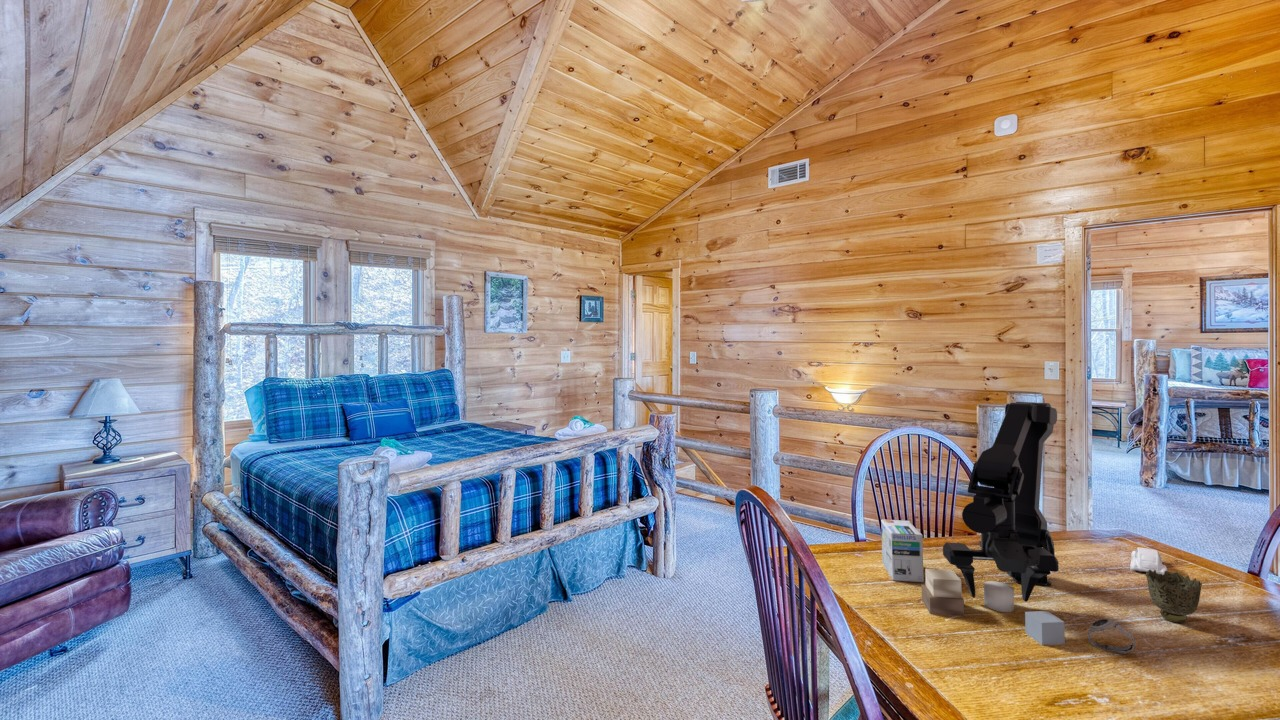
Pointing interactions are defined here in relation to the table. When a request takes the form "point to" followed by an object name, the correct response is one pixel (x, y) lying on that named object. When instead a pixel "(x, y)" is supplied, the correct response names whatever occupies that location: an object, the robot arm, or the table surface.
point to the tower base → (942, 604)
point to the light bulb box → (902, 550)
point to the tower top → (943, 583)
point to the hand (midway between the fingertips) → (998, 598)
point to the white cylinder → (999, 596)
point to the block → (1045, 628)
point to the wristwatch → (1102, 626)
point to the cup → (1174, 594)
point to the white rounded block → (1147, 561)
